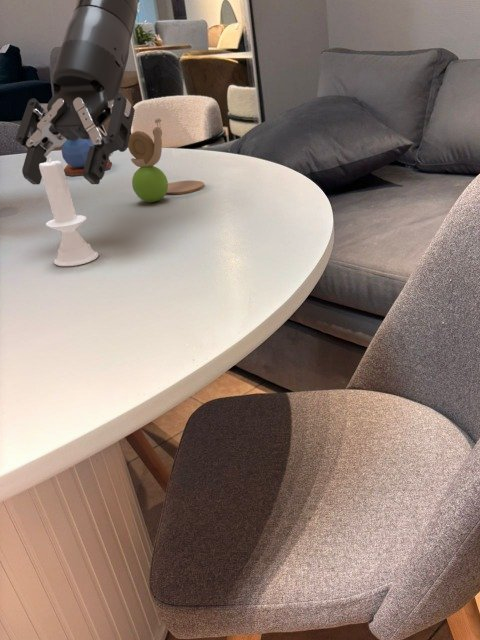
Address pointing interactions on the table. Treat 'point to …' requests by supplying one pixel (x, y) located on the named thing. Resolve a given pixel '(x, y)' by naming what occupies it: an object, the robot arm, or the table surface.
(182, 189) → the coaster
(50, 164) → the candle
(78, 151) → the model
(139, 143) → the snail figurine
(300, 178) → the table surface
